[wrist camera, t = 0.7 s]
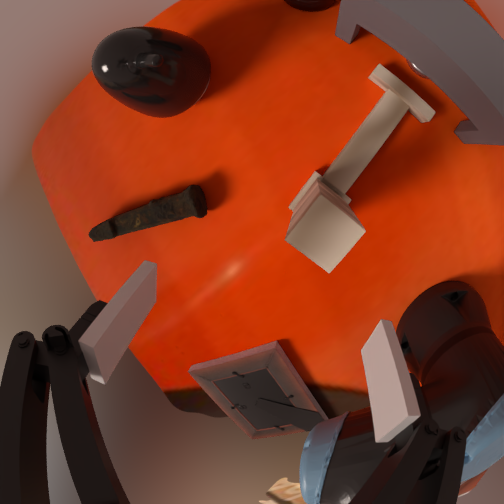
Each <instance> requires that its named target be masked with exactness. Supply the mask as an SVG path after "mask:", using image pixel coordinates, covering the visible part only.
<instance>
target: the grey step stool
mask: <svg viewBox="0 0 504 504" xmlns="http://www.w3.org/2000/svg"><path fill="white" fill-rule="evenodd" d="M360 27H363V28H364V29H366V30H367V31H369V32H371V33H372V34H374V35H375V36H376V37H378V38H379V39H381V40H382V41H384V42H385V43H386V44H388V45H389V46H391V47H392V48H393V49H395V50H396V51H397V52H399V53H400V54H401V55H402V56H404V57H405V58H406V59H407V60H409V61H410V62H411V63H412V64H414V65H415V66H416V67H417V68H418V69H419V70H421V71H422V72H423V73H424V74H425V75H426V76H427V77H428V78H430V79H431V80H432V81H433V82H434V83H435V84H436V85H437V86H438V87H439V88H440V89H441V90H442V91H443V92H444V93H445V94H446V95H447V96H448V97H449V98H450V99H451V100H452V101H453V102H454V103H455V104H456V105H457V106H458V107H459V108H460V109H461V110H462V112H463V113H464V114H465V115H466V116H467V117H468V118H469V119H470V120H467V121H461V122H460V123H459V125H458V126H457V128H456V130H455V131H454V133H455V134H456V135H457V136H458V137H459V138H460V140H461V141H462V142H463V143H464V144H489V145H504V40H503V39H502V38H501V36H499V34H498V33H497V32H496V31H495V30H494V29H493V28H492V27H491V26H490V25H489V24H488V23H487V22H486V21H485V20H484V19H483V18H482V17H481V16H480V15H479V14H478V13H477V12H476V11H475V10H474V9H473V8H472V7H470V6H469V5H468V4H467V3H466V2H465V1H464V0H341V3H340V9H339V15H338V21H337V27H336V32H335V35H336V36H337V37H339V38H341V39H342V40H344V41H345V42H347V43H349V44H350V43H351V42H352V41H353V39H354V38H355V37H356V36H357V35H358V33H359V30H360Z"/></svg>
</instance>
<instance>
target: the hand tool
mask: <svg viewBox="0 0 504 504" xmlns="http://www.w3.org/2000/svg"><path fill="white" fill-rule="evenodd" d="M207 209H208V208H207V205H206V199H205V196H204V193H203V191H202V189H201V187H200V186H198V185H191V186H189V187H188V188H187V189H186V190H184V191H183V192H181V193H178V194H174V195H170V196H167V197H162V198H160V199H157V200H152V201H150V203H149V204H146V205H144V206H141V207H139V208H136V209H133V210H131V211H128V212H125V213H123V214H120V215H117V216H115V217H113V218H111V219H108V220H106V221H104V222H102V223H100V224H98V225H97V226H95V227H94V228H92V230H91V231H90V232H89V237H90V238H91V239H92V240H93V242H95V241H103V240H106V239H112V238H115V237H117V236H119V235H123V234H127V233H130V232H134V231H138V230H143V229H146V228H150V227H154V226H157V225H161V224H166V223H169V222H173V221H177V220H181V219H184V218H187V217H191V216H195V217H197V218H203V217H204V216H205V215H207Z"/></svg>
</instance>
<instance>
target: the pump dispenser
mask: <svg viewBox="0 0 504 504" xmlns="http://www.w3.org/2000/svg"><path fill="white" fill-rule="evenodd" d="M92 70H93V73H94V76H95V78H96V80H97V81H98V83H99V84H100V86H101V87H102V88H103V89H104V90H105V91H106V92H107V93H108V94H109V95H111V96H112V97H113V98H115V99H116V100H118V101H119V102H121V103H122V104H124V105H125V106H127V107H129V108H131V109H133V110H135V111H137V112H140V113H142V114H145V115H148V116H152V117H157V118H167V117H172V116H175V115H178V114H180V113H182V112H184V111H186V110H187V109H189V108H190V107H192V106H193V105H194V104H195V103H196V102H197V101H199V99H200V98H201V97H202V96H203V94H204V93H205V91H206V89H207V87H208V84H209V81H210V73H211V64H210V59H209V56H208V54H207V52H206V50H205V49H204V48H203V47H202V46H201V45H200V44H199V43H198V42H196V41H195V40H193V39H192V38H190V37H188V36H185V35H183V34H180V33H178V32H174V31H171V30H167V29H161V28H155V27H131V28H126V29H122V30H119V31H116V32H114V33H112V34H110V35H108V36H107V37H106V38H105V39H103V40H102V41H101V42H100V44H99V45H98V46H97V48H96V50H95V52H94V54H93V58H92Z"/></svg>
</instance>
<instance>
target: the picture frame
mask: <svg viewBox="0 0 504 504" xmlns="http://www.w3.org/2000/svg"><path fill="white" fill-rule="evenodd" d="M188 372H189V373H190V375H191V376H192V377H193V378H194V379H195V380H196V382H197V383H198V384H199V385H200V386H201V387H202V388H203V389H204V391H205V392H206V393H207V394H208V395H209V396H210V397H211V398H212V399H213V400H214V402H215V403H216V404H217V405H218V406H219V407H220V408H221V409H222V410H223V411H224V412H225V413H226V414H227V415H228V416H229V417H230V418H231V419H232V420H233V421H234V422H235V423H236V424H237V425H238V426H239V427H240V428H241V429H242V430H243V431H244V432H245V433H246V434H247V435H248V436H249V437H250V438H251V439H258V438H266V437H274V436H280V435H287V434H292V433H298V432H303V431H311V430H312V429H313V428H314V427H315V426H316V425H317V424H318V423H320V422H322V421H325V420H328V417H327V416H326V414H325V413H324V411H323V410H322V408H321V407H320V405H319V404H318V402H317V401H316V399H315V398H314V397H313V395H312V394H311V392H310V391H309V389H308V388H307V386H306V385H305V383H304V381H303V380H302V378H301V377H300V375H299V374H298V372H297V371H296V369H295V368H294V366H293V365H292V363H291V362H290V360H289V359H288V357H287V356H286V354H285V352H284V351H283V349H282V348H281V346H280V345H279V343H278V342H277V341H274V342H271V343H267V344H264V345H261V346H258V347H255V348H252V349H248V350H245V351H242V352H239V353H235V354H232V355H228V356H225V357H221V358H218V359H214V360H210V361H206V362H203V363H199V364H195V365H192V366H191V367H190V369H189V371H188Z"/></svg>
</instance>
